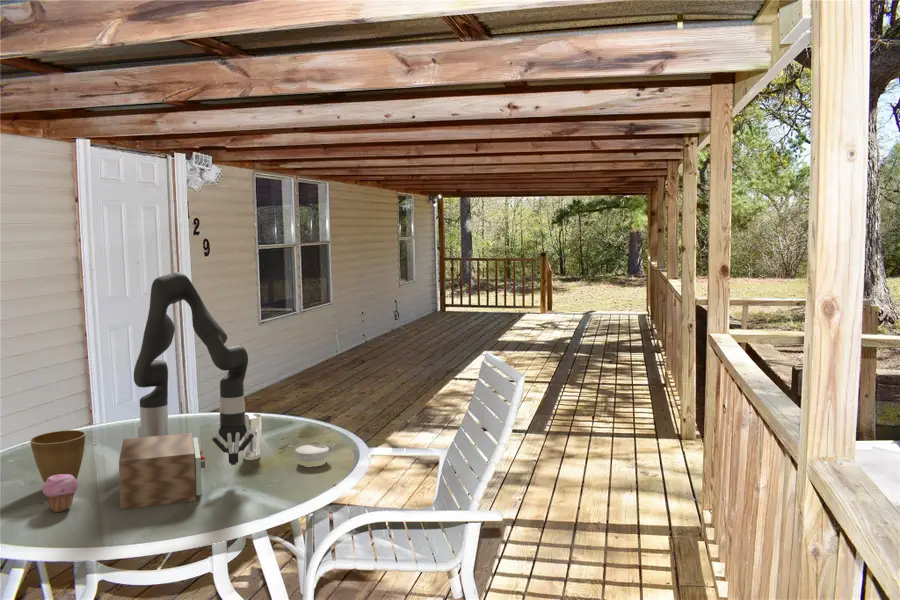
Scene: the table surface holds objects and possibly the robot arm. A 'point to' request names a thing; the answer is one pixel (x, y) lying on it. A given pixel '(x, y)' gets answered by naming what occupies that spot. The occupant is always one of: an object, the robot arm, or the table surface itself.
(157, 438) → the wooden drawer cabinet
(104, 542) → the table surface
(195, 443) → the drawer
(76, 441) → the plant pot
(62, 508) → the cupcake
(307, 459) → the ramekin
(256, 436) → the beer glass
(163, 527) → the table surface
